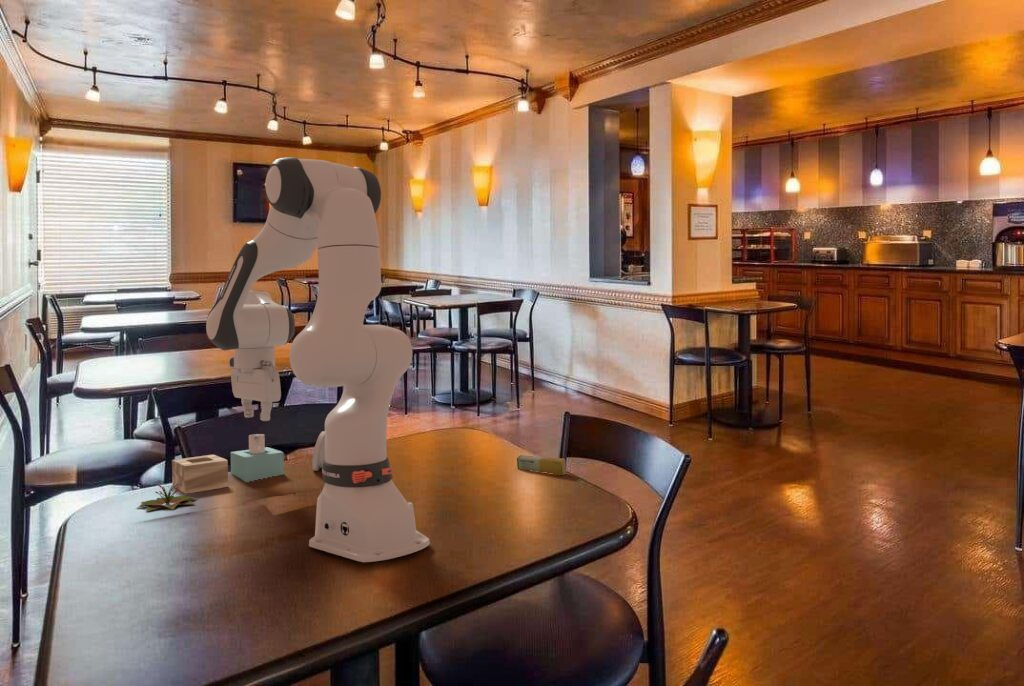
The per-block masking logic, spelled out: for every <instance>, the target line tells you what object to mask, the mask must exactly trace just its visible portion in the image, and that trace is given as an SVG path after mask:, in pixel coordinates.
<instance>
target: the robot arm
mask: <svg viewBox="0 0 1024 686" xmlns="http://www.w3.org/2000/svg"><path fill="white" fill-rule="evenodd" d="M264 183H265V184H264V185H265V187H264V188H265V195H266V199H267V202H268V203H269V204H270V206H269V210H268V214H267V216H266V217H267V218H266V221H265V222H264V226H263V227H262V229H261V230H260V231H259V232H258V233H257V235H255V237H254V238H253V239H252V240H250V241H248V242H246V243H244V244H243V246H242V247H241V249H240V251H239V252H238V254H237V256H236V258H235V261H234V263H233V265H232V267H231V270H230V272H229V274H228V276H227V278H226V280H225V283H224V285H223V287H222V290H221V292H220V293H219V296H218V298H217V300H216V302H215V303H214V305H213V306H212V308H211V309H210V311H209V313H208V314H207V319H206V324H205V331H206V332H205V333H206V337H207V339H208V340H209V342H211V343H212V344H213V345H214V346H216V347H217V348H218V349H220V350H221V351H230V350H234V353H233V355H232V356H231V357H229V359H228V367H229V368H230V369H231V371H230V378H231V380H230V382H231V388H232V389H231V391H232V393H233V396H234V398H237V399H241V405H242V408H243V414H244V416H243V417H245V418H249V419H250V418H253V417H254V416H255V414H254V413H255V410H254V409H253V404H252V403H253V401H257V402H260V406H261V412H260V413H259V420H261V421H262V422H268V421H270V420H271V411H272V409H273V402H274V403H275V402H279V401H280V400H281V398H282V391H281V388H282V387H281V380H280V372H279V370H278V369H276V354H275V352H276V351H275V349H276V347H281V346H284V345H286V344H288V343H289V342H290V341H291V339H292V338H293V337H294V335H295V332H296V323H295V316H294V314H293V313H292V311H291V310H290V309H289V308H288V307H286V306H285V305H281V304H280V303H277V302H275V301H274V300H273V299H272V296H271V294H270V293H269V292H268V291H264V290H252V288H253V286H254V284H255V283H256V282H257V281H258V280H260V279H261V278H262V277H265V276H268V275H269V274H272V273H277V272H280V271H284V270H287V269H291V268H292V269H293V268H295V267H298V266H300V265H302V264H304V263H306V262H307V261H309V260H310V259H311V258H312V256H313V255H315V252H316V250H317V258H318V259H317V260H318V262H317V263H318V290H317V291H318V292H317V299H316V303H315V307H314V309H313V312H312V314H311V317H310V319H309V321H308V323H307V324H306V325H305V327H304V328H303V329H302V330H301V331H300V332H299V333H298V334H297V335H296V336H295V337H294V339H293V341H292V343H291V345H290V349H289V364H290V368H291V370H292V372H293V375H294V376H295V377H296V378H297V380H299V382H301V383H303V384H305V385H308V386H313V387H314V386H315V387H321V388H329V389H330V388H338V387H339V388H340V387H343V392H342V394H341V397H340V399H339V401H338V402H337V405H335V407H333V408H332V410H331V411H329V413H328V414H327V416H326V418H325V419H324V420H325V421H324V431H325V461H324V462H323V468H321V471H322V472H321V474H322V481H323V482H324V485H323V488H322V491H321V492H320V494H319V495H318V497H317V498H316V499H317V500H316V511H315V513H316V514H315V530H314V536H313V537H311V538H310V539H309V540H308V547H310V548H313V549H316V550H318V551H319V550H320V551H324V552H326V553H329V554H333V555H335V556H341V557H343V558H346V559H349V560H353V561H356V562H361V563H371V562H372V563H373V562H379V561H387V560H391V559H395V558H398V557H403V556H407V555H411V554H412V553H415V552H418V551H421V550H423V549H425V548H426V547H428V546H429V545H430V544H431V543H430V539H429V537H427V536H426V535H425V534H423V533H421V532H419V531H418V530H417V527H416V525H417V524H416V518H415V508H414V504H413V502H409V501H407V499H406V498H405V497H404V496H403V494H402V493H401V491H400V490H399V488H398V487H397V486H396V485H395V483H394V481H393V480H392V479H393V478H394V477H393V474H395V472H394V471H392V470H394V469H395V467H393V466H392V464H391V463H390V460H389V457H388V456H387V428H388V427H387V424H388V415H389V409H390V404H391V402H392V398H393V395H394V392H395V389H396V388H397V387H396V386H397V385H398V383H399V381H400V379H401V378H402V376H403V375H404V374H405V373H406V372H407V370H408V369H409V367H411V363H412V360H413V346H412V341H410V338H409V337H408V336H407V334H406V333H405V332H404V331H403V330H400V329H398V328H395V327H392V326H388V325H383V324H364V320H365V317H366V316H365V315H366V311H367V309H368V306H369V305H370V303H371V301H373V300H375V299H376V298H377V297H378V296H379V294H380V292H381V290H382V277H381V276H382V271H381V269H382V268H381V251H380V238H379V230H378V222H377V218H376V213H377V212H378V210H379V208H380V205H381V200H382V190H381V189H382V188H381V185H380V182H379V179H378V178H377V176H376V175H375V174H374V173H373V172H371V171H370V170H367V169H364V168H362V167H359V166H354V167H353V166H348V165H345V164H341V163H336V162H331V161H329V160H325V159H313V158H311V159H310V158H298V157H294V156H289V157H286V156H285V157H280V158H277V159H275V160H274V161H273V162H272V163H271V164H270V165H269V167H268V169H267V171H266V177H265V182H264Z"/></svg>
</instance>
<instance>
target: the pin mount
mask: <svg viewBox="0 0 1024 686" xmlns="http://www.w3.org/2000/svg"><path fill="white" fill-rule="evenodd" d="M228 464H229V461H228V459H226V458H224V457H221V456H219V455H216V454H207V455H206V454H205V455H201V456H200V455H199V456H193V457H185V458H177V459H171V468H172V469H171V470H172V471H171V472H172V473H171V475H172V482H171V483H172V486H173V485H174V486H175V487H174V489H176V488H177V489H176V490H178V491H180V492H182V493H183V494H186V495H188V494H193V493H199V492H206V491H211V490H214V489H215V490H216V489H222V488H223V489H224V488H227V487H229V469H228V468H229V465H228ZM174 482H175V483H174ZM173 483H174V484H173ZM178 483H179V484H178ZM177 484H178V485H177Z"/></svg>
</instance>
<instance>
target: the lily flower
mask: <svg viewBox="0 0 1024 686" xmlns="http://www.w3.org/2000/svg"><path fill="white" fill-rule="evenodd" d="M174 483H175V482H174ZM174 483H173V482H172V485H171V486H170V488H169V485H168V488H167V489H166V488H165V487H164V486H161V484H159V483H157V486H158V487H159V488H160V489H162V491H161V490H159V491H155V494H157V495H159V496H160V497H157V498H156V499H150V500H145V501H141V504H140V505H139V506H137V507H136V509H139V508H143V507H146V512H149V511H153V510H157V509H159V506H162V507H161V509H162V508H168V509H170V510H175V508H176V507H177V506H179V505H181V506H182V505H183V506H184V505H187V506H188V505H196V503H194V502H193V501H192V500H197V498H196V497H192V496H189V495H188V494H186V495H179V496H174V495H175V494H176V493H178V492H179V490H178V489H176V490H175V486H174V485H173V484H174ZM178 484H179V483H178ZM178 484H177V485H178Z"/></svg>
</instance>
